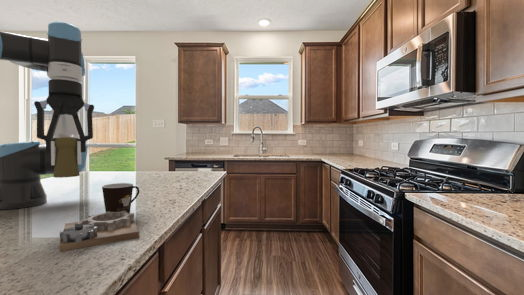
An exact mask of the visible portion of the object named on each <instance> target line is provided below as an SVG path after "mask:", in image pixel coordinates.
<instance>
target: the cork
mask: <svg viewBox="0 0 524 295" xmlns="http://www.w3.org/2000/svg"><path fill="white" fill-rule="evenodd" d="M55 147H56V148H57V155H56V162H55V169H54V174H52V176H53V178H55V179H56V178H59V179H60V178H74V177H80V175H81V174H80V173H81V172H79V167H78V161H77V155H76V150H75V148H76V147H77V140H76V138H73V137H59V138H57V139H56V140H55Z"/></svg>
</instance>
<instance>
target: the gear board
mask: <svg viewBox="0 0 524 295" xmlns="http://www.w3.org/2000/svg"><path fill="white" fill-rule="evenodd" d="M76 223H83V225H94V227H96V226H97V235H95V236H94V238H92V239H87V240H83V241H82V242H77V243H76V242H69V243H63V241H60V240H59V244H58V245H59V246H58V248H59V249H58V250H59V252H63V251H70V250H75V249H81V248H86V247H92V246H98V245H102V244H108V243H116V242H120V241H127V240H131V239H137V238H138V239H139V237H140V230H139V229H138V227H137V225H136V222H135V213H134V212H130V213H129V214H128V213H127V211H121V212H110V211H107V212H106V211H105V212H103V213H98V214H90V215H88V217H87V218H86V219H81V221H75V222H68V223H65V224H64V227H63V231H64V229H66V228H70V227H73V226H75V224H76Z"/></svg>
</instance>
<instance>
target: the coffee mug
mask: <svg viewBox="0 0 524 295" xmlns="http://www.w3.org/2000/svg"><path fill="white" fill-rule="evenodd" d="M101 189H102V196H103V203H104V209H105V212H107V211H110V212H121V211H127V213H128V214H129V213H131V206H132V204H133V202H134V201H135V200H136V199H137V197H138V196H139V194H140V188H139V187H138V186H136V185H134V184H133V183H127V182H124V183H123V182H117V183H110V184H104V185H102V186H101ZM134 189H136V192H137V193H136V194H135V196H134V197H133V190H134ZM132 197H133V198H132Z"/></svg>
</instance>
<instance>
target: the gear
mask: <svg viewBox="0 0 524 295" xmlns="http://www.w3.org/2000/svg"><path fill="white" fill-rule="evenodd" d="M63 230H64V231H62V230H61V231H59V242H60V241H63V243H69V242H76V243H77V242H82V241H83V240H87V239H92V238H94V236H95V235H97V226H96V227H94V225H83V223H76V224H75V226H73V227H70V228H66V229H64V228H63Z"/></svg>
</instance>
